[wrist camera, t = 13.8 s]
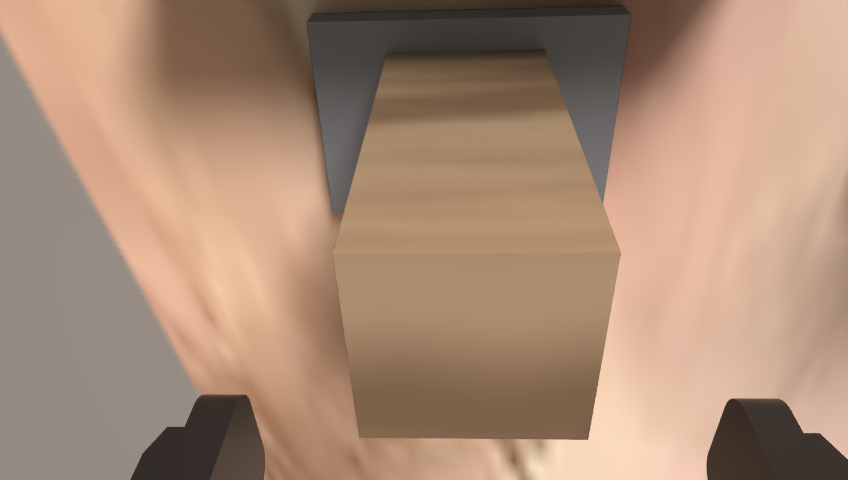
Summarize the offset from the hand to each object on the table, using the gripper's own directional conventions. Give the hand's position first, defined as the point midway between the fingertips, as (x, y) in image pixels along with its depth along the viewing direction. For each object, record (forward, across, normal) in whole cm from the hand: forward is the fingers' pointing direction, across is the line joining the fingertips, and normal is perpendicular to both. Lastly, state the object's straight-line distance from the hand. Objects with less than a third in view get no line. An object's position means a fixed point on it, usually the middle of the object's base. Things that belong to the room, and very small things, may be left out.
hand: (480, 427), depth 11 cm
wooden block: (+13, 0, 0) cm, 13 cm away
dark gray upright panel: (+14, 0, 0) cm, 14 cm away
